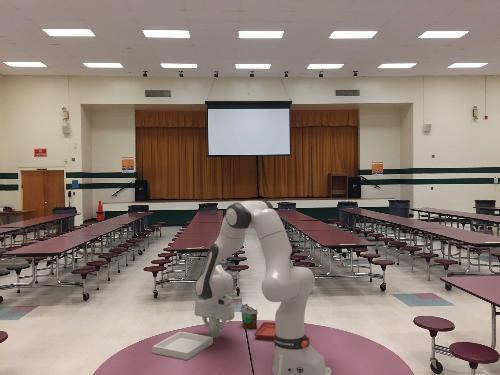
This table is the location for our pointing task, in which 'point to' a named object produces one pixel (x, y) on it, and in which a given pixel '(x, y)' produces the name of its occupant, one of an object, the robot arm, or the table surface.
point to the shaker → (214, 326)
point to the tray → (182, 345)
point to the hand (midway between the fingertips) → (214, 327)
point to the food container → (249, 317)
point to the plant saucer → (266, 331)
